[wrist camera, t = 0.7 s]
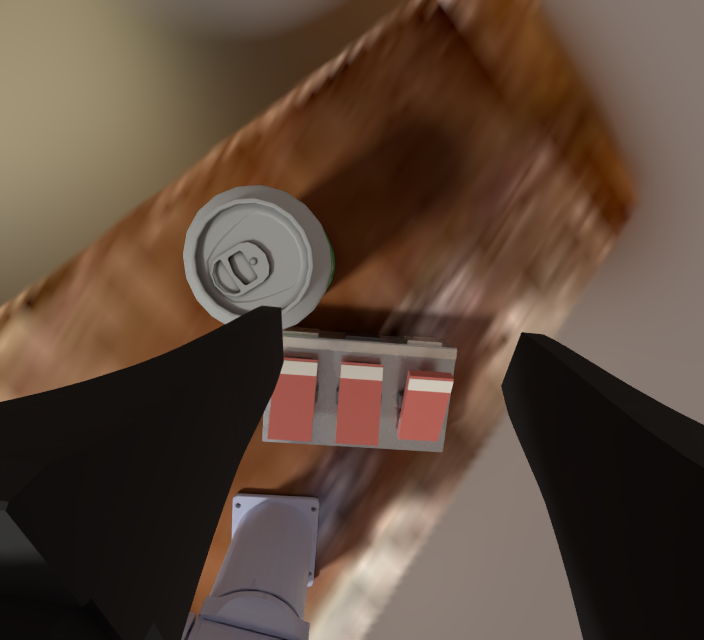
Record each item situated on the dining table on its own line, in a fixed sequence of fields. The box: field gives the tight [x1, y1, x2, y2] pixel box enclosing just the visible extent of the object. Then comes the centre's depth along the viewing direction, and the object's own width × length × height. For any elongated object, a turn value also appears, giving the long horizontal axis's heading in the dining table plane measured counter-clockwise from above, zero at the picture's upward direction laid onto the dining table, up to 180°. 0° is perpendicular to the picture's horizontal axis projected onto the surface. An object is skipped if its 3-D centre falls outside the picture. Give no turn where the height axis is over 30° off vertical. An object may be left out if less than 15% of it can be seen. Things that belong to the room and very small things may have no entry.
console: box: [262, 327, 457, 452], centre depth 27 cm, size 9×15×4 cm, turn 85°
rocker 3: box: [397, 370, 454, 442], centre depth 25 cm, size 6×3×1 cm, turn 175°
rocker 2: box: [335, 362, 383, 446], centre depth 25 cm, size 6×3×1 cm, turn 176°
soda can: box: [183, 185, 335, 330], centre depth 22 cm, size 8×8×12 cm
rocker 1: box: [267, 357, 318, 442], centre depth 25 cm, size 6×3×1 cm, turn 176°
